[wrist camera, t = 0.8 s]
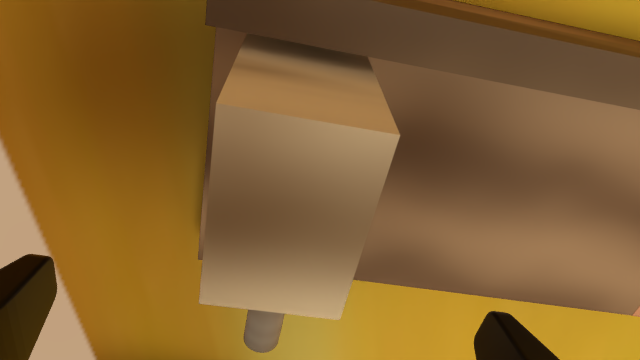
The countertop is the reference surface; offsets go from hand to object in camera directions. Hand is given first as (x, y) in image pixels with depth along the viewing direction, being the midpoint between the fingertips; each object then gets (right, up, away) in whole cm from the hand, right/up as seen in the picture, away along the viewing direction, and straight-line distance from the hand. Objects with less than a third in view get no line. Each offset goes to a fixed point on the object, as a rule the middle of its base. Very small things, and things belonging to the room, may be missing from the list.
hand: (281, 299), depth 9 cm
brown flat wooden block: (+8, +3, +10) cm, 14 cm away
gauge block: (0, +3, +8) cm, 8 cm away
